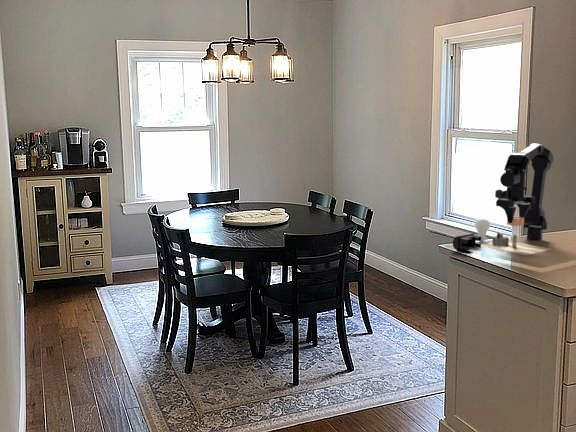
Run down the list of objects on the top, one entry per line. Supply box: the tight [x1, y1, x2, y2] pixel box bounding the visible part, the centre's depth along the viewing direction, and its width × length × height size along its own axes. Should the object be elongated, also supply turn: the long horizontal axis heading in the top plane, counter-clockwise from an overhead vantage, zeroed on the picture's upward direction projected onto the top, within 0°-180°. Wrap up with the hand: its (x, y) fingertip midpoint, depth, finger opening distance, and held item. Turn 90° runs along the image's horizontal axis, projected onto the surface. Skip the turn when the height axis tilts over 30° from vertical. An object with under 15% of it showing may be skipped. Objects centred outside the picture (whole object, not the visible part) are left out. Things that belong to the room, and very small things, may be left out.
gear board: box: [480, 232, 552, 256], centre depth 265 cm, size 17×24×7 cm
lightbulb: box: [474, 217, 491, 243], centre depth 281 cm, size 6×6×11 cm
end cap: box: [452, 232, 482, 255], centre depth 265 cm, size 10×7×7 cm
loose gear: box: [506, 215, 524, 227], centre depth 263 cm, size 6×6×3 cm
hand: (515, 222), depth 263 cm, fingers closed on loose gear, 6 cm apart
